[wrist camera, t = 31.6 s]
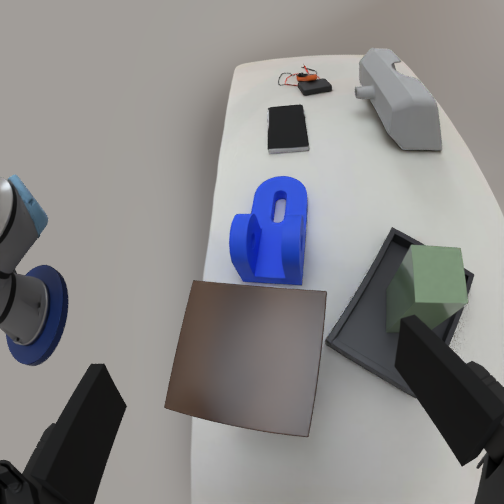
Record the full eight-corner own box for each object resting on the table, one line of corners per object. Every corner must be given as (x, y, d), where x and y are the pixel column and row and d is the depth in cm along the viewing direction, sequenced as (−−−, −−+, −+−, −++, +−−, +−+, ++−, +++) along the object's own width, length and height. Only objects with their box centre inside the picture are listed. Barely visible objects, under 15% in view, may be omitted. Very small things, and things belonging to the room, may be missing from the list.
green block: (385, 332, 33) (415, 302, 23) (386, 289, 36) (410, 244, 25) (427, 333, 31) (468, 303, 21) (425, 290, 34) (460, 247, 24)
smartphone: (266, 150, 52) (267, 107, 59) (267, 154, 53) (268, 111, 60) (309, 146, 50) (303, 104, 57) (310, 151, 51) (303, 108, 58)
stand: (239, 405, 33) (163, 407, 16) (251, 339, 37) (193, 279, 20) (310, 415, 30) (308, 437, 13) (320, 346, 35) (326, 290, 17)
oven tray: (324, 343, 35) (325, 339, 32) (388, 236, 40) (392, 226, 38) (415, 398, 28) (422, 397, 26) (467, 281, 33) (474, 274, 31)
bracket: (301, 285, 39) (298, 254, 31) (243, 281, 41) (225, 251, 33) (308, 184, 47) (305, 144, 40) (260, 184, 49) (249, 146, 42)
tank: (343, 89, 60) (341, 45, 50) (401, 89, 57) (405, 48, 47) (370, 153, 48) (376, 98, 37) (442, 153, 45) (457, 103, 35)
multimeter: (272, 71, 71) (270, 61, 68) (312, 65, 69) (311, 55, 66) (285, 99, 62) (283, 87, 59) (332, 92, 60) (332, 80, 57)
